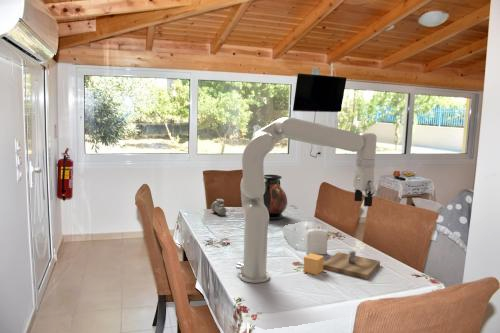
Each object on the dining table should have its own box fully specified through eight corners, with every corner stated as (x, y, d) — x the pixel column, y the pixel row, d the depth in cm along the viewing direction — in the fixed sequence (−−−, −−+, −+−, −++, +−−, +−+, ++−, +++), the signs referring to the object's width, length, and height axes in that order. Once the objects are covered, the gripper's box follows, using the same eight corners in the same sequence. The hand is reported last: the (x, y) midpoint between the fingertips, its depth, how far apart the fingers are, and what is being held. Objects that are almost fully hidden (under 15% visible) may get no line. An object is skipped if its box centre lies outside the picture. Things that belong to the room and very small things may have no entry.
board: (321, 268, 175) (322, 253, 174) (338, 256, 192) (338, 242, 191) (367, 279, 164) (368, 263, 163) (379, 265, 181) (380, 250, 180)
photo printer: (306, 254, 192) (307, 230, 191) (305, 251, 197) (306, 227, 195) (327, 255, 192) (329, 230, 191) (326, 252, 196) (327, 228, 195)
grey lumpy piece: (209, 211, 271) (211, 197, 269) (220, 211, 275) (222, 197, 273) (216, 217, 261) (218, 203, 259) (227, 217, 264) (229, 203, 263)
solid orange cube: (303, 271, 171) (304, 257, 170) (309, 267, 176) (310, 253, 175) (317, 275, 167) (317, 260, 166) (322, 270, 173) (323, 256, 172)
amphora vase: (266, 212, 277) (267, 172, 273) (292, 217, 264) (294, 175, 261) (247, 217, 260) (249, 175, 256) (275, 223, 247) (277, 179, 244)
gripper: (348, 160, 171) (346, 199, 173) (365, 165, 154) (362, 208, 156) (365, 160, 172) (362, 199, 174) (383, 165, 155) (380, 208, 157)
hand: (362, 203), depth 165 cm, fingers open, 9 cm apart
